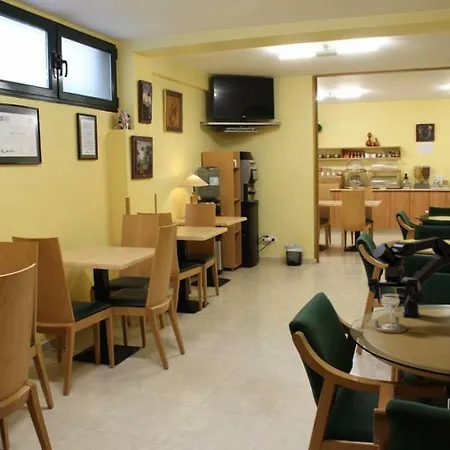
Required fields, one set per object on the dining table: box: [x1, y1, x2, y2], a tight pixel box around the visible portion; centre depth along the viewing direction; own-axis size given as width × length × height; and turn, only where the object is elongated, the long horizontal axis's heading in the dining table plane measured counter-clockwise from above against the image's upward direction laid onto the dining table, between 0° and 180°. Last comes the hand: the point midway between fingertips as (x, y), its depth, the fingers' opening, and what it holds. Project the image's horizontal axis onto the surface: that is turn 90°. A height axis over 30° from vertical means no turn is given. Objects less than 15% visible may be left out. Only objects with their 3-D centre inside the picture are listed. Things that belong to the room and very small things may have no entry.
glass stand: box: [374, 316, 407, 335], centre depth 211 cm, size 11×11×4 cm
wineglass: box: [380, 292, 401, 328], centre depth 211 cm, size 7×7×12 cm
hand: (391, 304), depth 213 cm, fingers open, 9 cm apart
